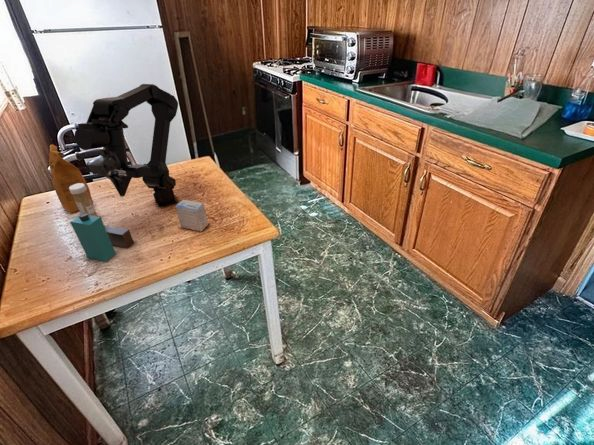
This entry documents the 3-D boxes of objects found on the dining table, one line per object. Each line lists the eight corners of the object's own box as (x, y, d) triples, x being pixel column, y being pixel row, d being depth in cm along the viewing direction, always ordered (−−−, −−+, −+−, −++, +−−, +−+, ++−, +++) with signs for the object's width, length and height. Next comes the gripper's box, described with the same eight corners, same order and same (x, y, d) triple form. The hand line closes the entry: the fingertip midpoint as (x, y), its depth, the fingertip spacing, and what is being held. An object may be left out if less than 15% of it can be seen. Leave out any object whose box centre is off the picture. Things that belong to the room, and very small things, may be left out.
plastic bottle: (107, 230, 103) (73, 209, 90) (125, 233, 101) (93, 212, 89) (92, 260, 99) (55, 242, 86) (110, 264, 97) (75, 246, 85)
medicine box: (208, 224, 110) (204, 202, 105) (201, 232, 107) (196, 209, 102) (188, 220, 112) (183, 198, 107) (180, 228, 109) (174, 205, 104)
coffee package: (89, 193, 130) (66, 139, 117) (97, 206, 122) (73, 149, 109) (60, 202, 124) (33, 146, 112) (67, 215, 116) (38, 157, 104)
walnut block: (107, 237, 105) (102, 224, 102) (134, 242, 103) (129, 229, 100) (100, 243, 103) (94, 230, 100) (127, 248, 100) (122, 234, 98)
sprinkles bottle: (100, 221, 113) (85, 186, 106) (85, 225, 111) (68, 190, 104) (98, 215, 116) (83, 181, 109) (83, 219, 114) (68, 185, 107)
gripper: (64, 146, 91) (75, 199, 97) (120, 152, 87) (128, 207, 93) (97, 141, 101) (105, 190, 107) (148, 146, 97) (155, 196, 103)
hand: (122, 196), depth 102 cm, fingers closed
